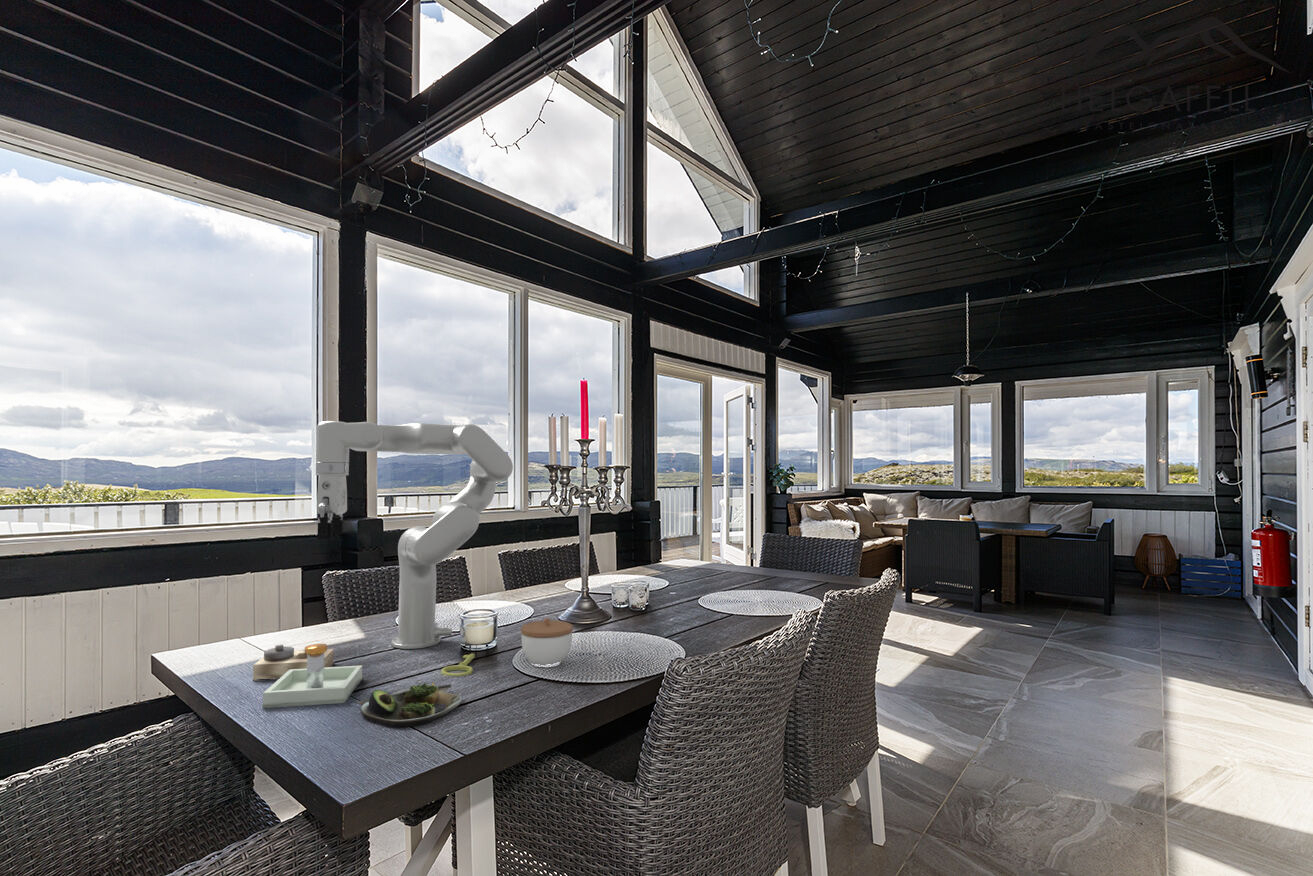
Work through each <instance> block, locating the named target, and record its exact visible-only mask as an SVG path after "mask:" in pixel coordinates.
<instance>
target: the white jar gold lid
mask: <svg viewBox="0 0 1313 876" xmlns="http://www.w3.org/2000/svg"><path fill="white" fill-rule="evenodd" d="M327 649H328V644H326V643H313V644H310V645H307V646H304V650H305V654H307V683H306V689H309V688H323V685H324V652H326V651H327Z"/></svg>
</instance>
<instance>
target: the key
mask: <svg viewBox="0 0 1313 876" xmlns="http://www.w3.org/2000/svg"><path fill="white" fill-rule="evenodd" d="M475 657H476V656H475V654H474V653H470V654H464V655H463V656H462V659H465V660H463V661H462V662H459V663H458V665H455V664H454V665H447V666H445V667H443V668H441V671H440V674H441V675H443V676H446V677H465V676H469V675H472V674H473V670H474V669H473V667H472V666H468V664H469V663H471V662H472V660H473V659H474V658H475ZM451 671H462V672H458V673H457V672H455V673H454V672H451ZM463 671H464V672H463Z"/></svg>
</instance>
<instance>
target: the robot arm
mask: <svg viewBox="0 0 1313 876" xmlns="http://www.w3.org/2000/svg"><path fill="white" fill-rule="evenodd" d="M316 427H317V428H316V445H315V446H316V450H315V476H318V482H317V483H318V484H317V485H318V486H317V497H316V498H317V499H316V511H317V517H318V519H317V532H316V533H317V535H316V537H317V538H316V539H317V540H318V541H320V540H322V541H323V540H332V539H333V536H342V535H343V529H344V520H343V518H344V515H343V514H345V513H346V512H347V511H348V489H347V487H348V485H347V476H349V474H350V473H349V472H350V469H349V468H350V467H349V466H350V449H351V450H353V451H355V452H378V453H379V452H380V453H381V452H383V453H385V452H386V453H387V452H388V453H404V454H414V455H416V454H421V455H423V454H424V455H425V454H426V455H467V456H468V457H469V458H470V459H471V463H470V466H469V467H470V468H469V470H470V471H469V473H470V475H469V476H470V477H469V480H468V483H467V485H466V486H465V487H464V488H463V489H462V490H460V491H459V493H457V494H456V495H455V496H453V497H452V498H451V499H449V500H448V501H447V502H446V503H444V504H443V505H442V506H440V507H439V508H438V509H436V511H435V512H434V514H433V517H432V525H431V526H429V527H424V526H414V527H411V528H408V529H406V530H405V531H404V532H403V533H402V534H401V536H400V538H399V540H398V543H397V556H398V565H399V567H398V568H399V585H398V617H397V618H398V619H397V620H398V621H397V627H398V628H397V636H396V637H394V638H393V639H391V646H392V647H393V648H396V649H400V650H401V649H402V650H403V649H404V650H413V649H414V650H415V649H423V648H429V647H432V646H436V645H438V644H439V643H440V642H441V640H442V638H441V637H442V636H445V637H446V636H447V637H449V636H450V637H451V636H452V634H453V629H452V628H451V627H450V628H449V627H440V626H438V622H436V608H437V607H436V605H437V604H436V603H437V566H436V565H437V564H440V563H441V562H443V561H444V560H446V559H447V558H448V557H449V556H451V554H453V553H454V552H456V551H457V550H458V548H460V547H462V546H463V545H464V544H465V543H466V542H467V541H468V540H469V539H471V537H473V536H474V534H475V533H476V531H477V530H478V528H479V524H480V516H479V515H481V513H482V512H484V511H485V509H486V508H488V506H490V504H491V503H492V502H493V500H494V496H495V493H496V486H497V483H500V482H504V481H506V480H507V479H509V478H510V477H511V476H512V474H513V470H514V466H513V460H512V458H510V455H508V453H507V452H506V451H505V450H503V448H502V447H501V446H500V445H499V444H498V443H497V442H496V441H495V440H494V439H493V438H492V437H491V436H490V435H489V434H488V432H487V431H485V430H484V429H483V428H481V427H480V426H478V425H476V424H462V425H461V424H459V425H457V424H441V423H440V424H437V423H422V422H421V423H420V422H419V423H417V422H416V423H415V422H414V423H406V424H392V425H391V424H377V423H374V422H372V421H361V422H359V421H358V422H345V421H337V420H336V421H334V420H326V421H321V422H318V424H317V426H316Z"/></svg>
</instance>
